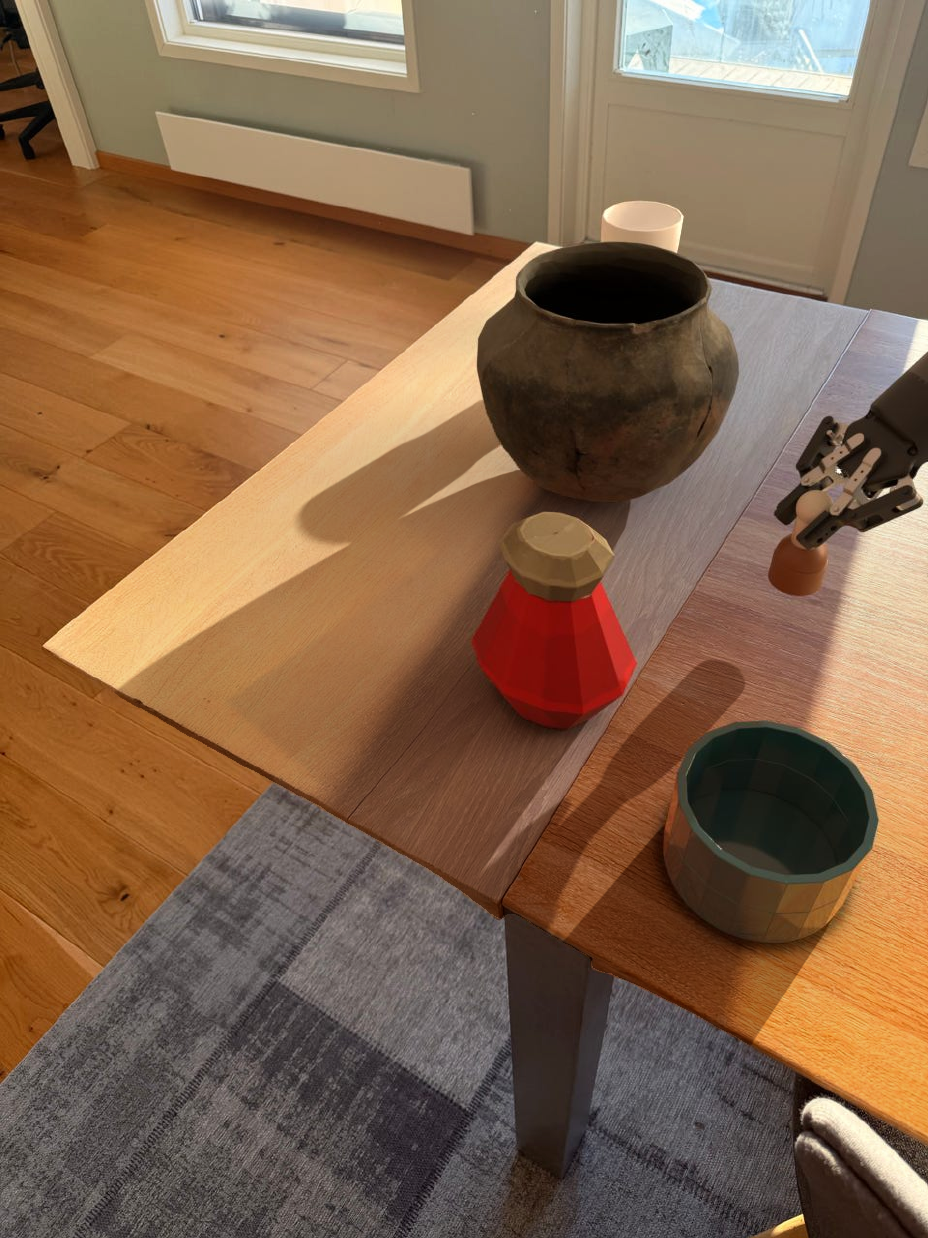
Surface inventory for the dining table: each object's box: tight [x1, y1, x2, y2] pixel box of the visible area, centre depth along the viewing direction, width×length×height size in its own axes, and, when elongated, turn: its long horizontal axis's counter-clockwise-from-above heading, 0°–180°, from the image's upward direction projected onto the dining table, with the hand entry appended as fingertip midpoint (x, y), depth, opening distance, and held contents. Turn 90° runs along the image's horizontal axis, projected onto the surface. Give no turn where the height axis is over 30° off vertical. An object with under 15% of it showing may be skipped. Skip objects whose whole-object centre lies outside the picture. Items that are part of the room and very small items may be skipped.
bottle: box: [470, 511, 638, 731], centre depth 80 cm, size 16×14×20 cm
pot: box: [476, 241, 740, 503], centre depth 104 cm, size 29×32×25 cm
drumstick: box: [767, 490, 834, 597], centre depth 89 cm, size 5×5×11 cm
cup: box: [600, 200, 684, 253], centre depth 133 cm, size 11×11×17 cm
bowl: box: [662, 720, 880, 944], centre depth 71 cm, size 14×15×9 cm
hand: (791, 531), depth 87 cm, fingers closed on drumstick, 3 cm apart
